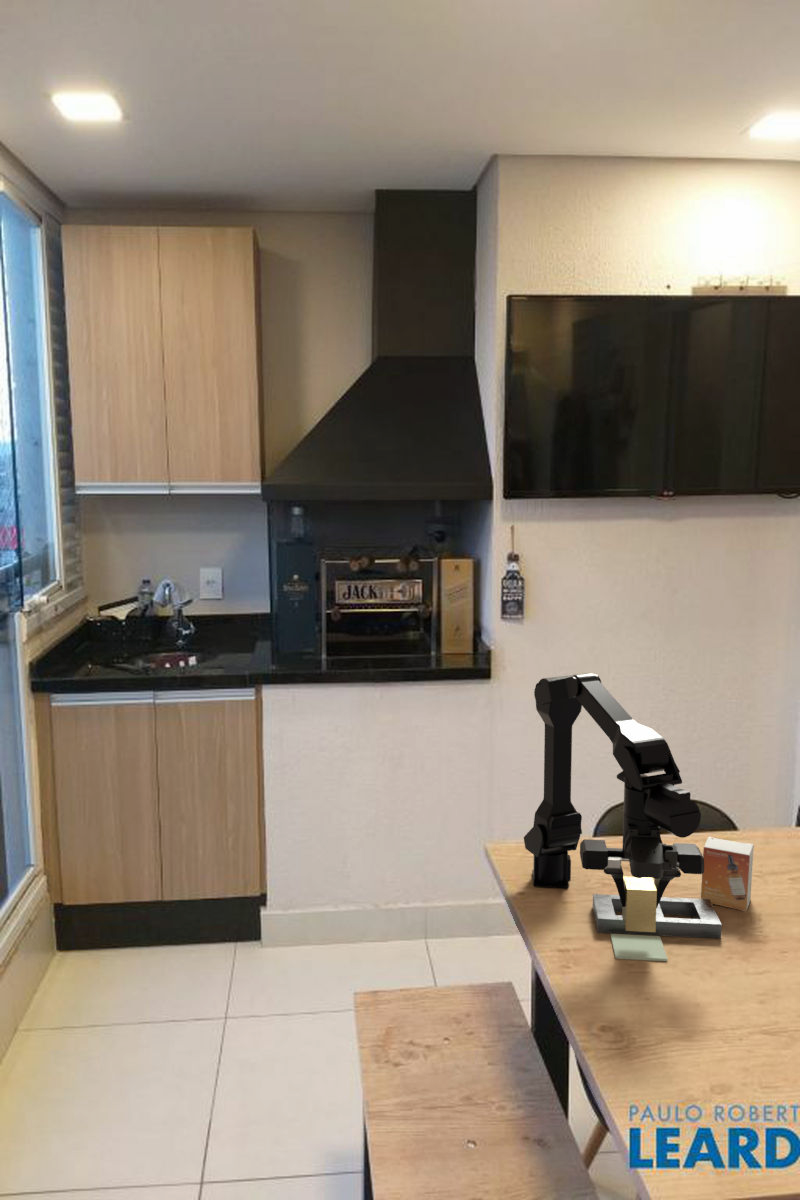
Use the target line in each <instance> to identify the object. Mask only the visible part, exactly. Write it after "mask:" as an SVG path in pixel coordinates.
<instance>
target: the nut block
mask: <svg viewBox="0 0 800 1200" xmlns="http://www.w3.org/2000/svg"><path fill="white" fill-rule="evenodd" d="M623 880H624V890H625V907H622V913H621V915H622V918H623V922H624V926H625V930H626V931H640V932H655V931H656V902H657V890H656V887H655V884H654V878H648V877H642V878H636V877H634V876H626V875H625V876H624V875H623Z"/></svg>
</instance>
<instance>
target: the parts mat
mask: <svg viewBox="0 0 800 1200" xmlns="http://www.w3.org/2000/svg"><path fill="white" fill-rule="evenodd" d="M610 939H611V944H612V945H611V946H612V948H613V953H614V957H615V959H618V960H637V961H653V962H656V961H657V962H668V957H667V953H666V950H665V946H664V945H663V941H662V939H661V936H655V935H634V934H614V933H610Z"/></svg>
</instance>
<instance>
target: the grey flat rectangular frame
mask: <svg viewBox="0 0 800 1200" xmlns="http://www.w3.org/2000/svg"><path fill="white" fill-rule="evenodd" d="M592 909H593V910H592V911H593V915H594V919H595V920H594V921H595V925H596V930H597V933H599V934H600V933H601V934H620V935H640V936H660V937H676V938H677V937H679V938H696V939H697V938H698V939H719V940H721V939H722V929H723V928H722V922H721V920H720V918H719V916H718V914H717V912H716V909H715V907H714V904H712V903H711V901H710V899H701V898H692V897H691V898H690V897H669V896H662V897H661V900H660V902H659V904H658V906H657V908H656V931H655V932H640V931H626V930H625V926H624V922H623V918H622V903H621V900H620V896H619V894H603V893H602V894H601V893H600V894H599V893H593V894H592ZM616 913H621V915H619V914H618V915H617V914H616ZM664 915H666V916H667V915H668V916H687V917H689V916H690V917H693V918H682V917H680V918H679V917H665V916H664Z"/></svg>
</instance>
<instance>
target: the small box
mask: <svg viewBox="0 0 800 1200" xmlns="http://www.w3.org/2000/svg"><path fill="white" fill-rule="evenodd" d="M754 846H755V845H754V844H753V843H747V842H746V843H745V842H741V841H740V842H739V841H734V840H727V839H721V838H716V837H713V836H708V837H707V838H706V842H705V844H704V846H703V849H702V851H703V852H702V856H703V858H704V873H703V874H701V885H700V886H701V888H700V899H710V901H711V903H712V905H717V906H721V907H727V908H730V909H735V910H740V911H742V912H747V910H748V908H749V905H750V902H751V895H752V881H753V880H752V879H753V865H754V863H753V861H754Z"/></svg>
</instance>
